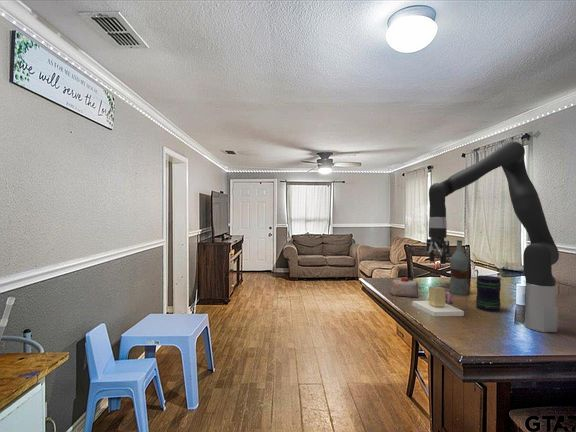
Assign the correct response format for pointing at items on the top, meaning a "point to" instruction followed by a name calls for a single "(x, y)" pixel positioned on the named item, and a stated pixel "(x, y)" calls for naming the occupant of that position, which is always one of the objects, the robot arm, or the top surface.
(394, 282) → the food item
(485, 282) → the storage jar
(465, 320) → the top surface
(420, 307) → the base board
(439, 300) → the gold rectangular block
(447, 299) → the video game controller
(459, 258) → the bottle
